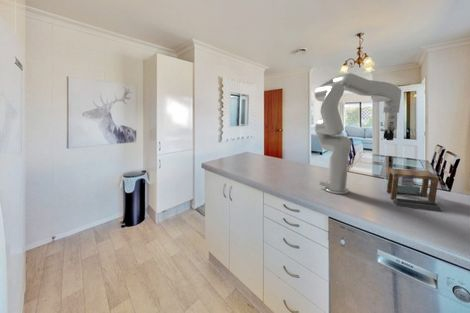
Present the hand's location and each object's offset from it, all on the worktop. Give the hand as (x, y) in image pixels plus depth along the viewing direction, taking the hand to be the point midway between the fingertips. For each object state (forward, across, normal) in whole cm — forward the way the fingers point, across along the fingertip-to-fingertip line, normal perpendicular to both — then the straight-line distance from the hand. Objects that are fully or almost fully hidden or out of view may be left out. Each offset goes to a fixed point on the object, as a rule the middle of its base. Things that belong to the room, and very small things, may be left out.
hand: (388, 139), depth 129 cm
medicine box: (+28, -9, -8) cm, 31 cm away
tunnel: (+28, -21, -8) cm, 36 cm away
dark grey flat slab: (+28, -33, -8) cm, 44 cm away
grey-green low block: (+28, -2, -8) cm, 29 cm away
